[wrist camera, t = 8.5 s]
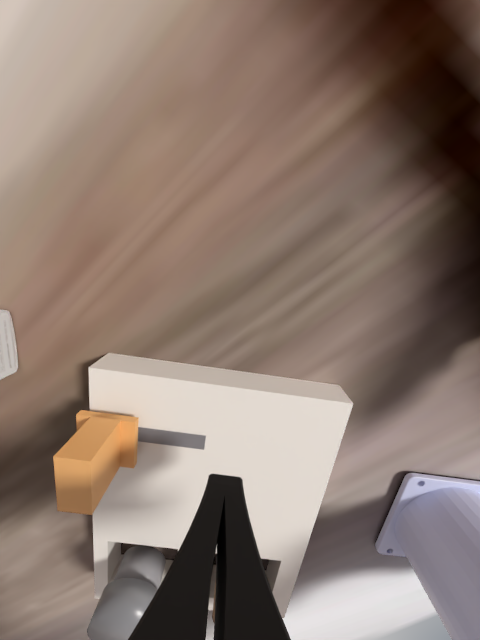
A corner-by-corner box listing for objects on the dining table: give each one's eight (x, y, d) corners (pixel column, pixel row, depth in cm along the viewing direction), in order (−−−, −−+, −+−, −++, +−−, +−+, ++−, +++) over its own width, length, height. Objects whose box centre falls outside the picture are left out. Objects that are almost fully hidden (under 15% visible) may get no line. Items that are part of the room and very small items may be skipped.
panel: (339, 384, 15) (353, 404, 13) (279, 583, 20) (284, 618, 18) (108, 352, 15) (87, 367, 13) (109, 565, 20) (94, 599, 18)
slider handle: (138, 417, 13) (108, 463, 10) (136, 462, 14) (109, 517, 11) (80, 410, 13) (34, 454, 10) (82, 455, 14) (40, 509, 11)
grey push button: (172, 544, 17) (154, 618, 14) (169, 580, 18) (151, 657, 15) (118, 538, 17) (86, 611, 14) (117, 574, 18) (88, 650, 15)
